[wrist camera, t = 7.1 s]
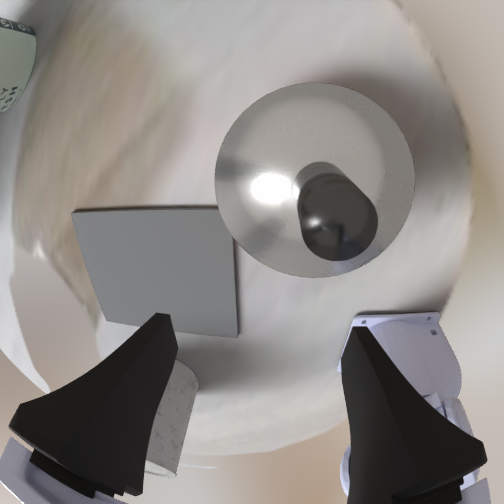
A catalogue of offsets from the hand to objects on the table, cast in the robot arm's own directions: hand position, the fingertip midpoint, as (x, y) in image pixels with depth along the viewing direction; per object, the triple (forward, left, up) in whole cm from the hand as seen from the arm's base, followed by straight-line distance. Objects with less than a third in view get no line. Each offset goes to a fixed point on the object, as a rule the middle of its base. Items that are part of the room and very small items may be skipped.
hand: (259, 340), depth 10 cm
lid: (-2, -5, -6) cm, 8 cm away
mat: (+10, +4, -10) cm, 14 cm away
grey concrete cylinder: (+12, +19, -10) cm, 25 cm away
